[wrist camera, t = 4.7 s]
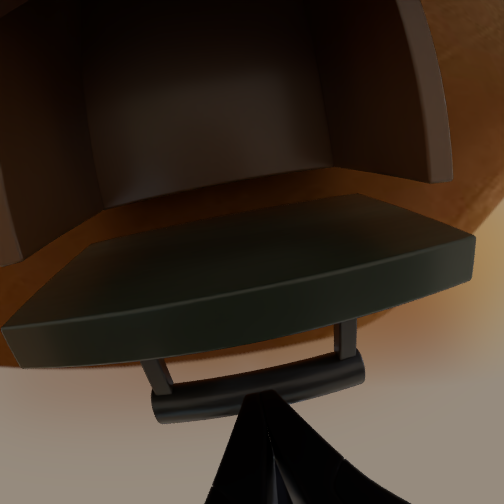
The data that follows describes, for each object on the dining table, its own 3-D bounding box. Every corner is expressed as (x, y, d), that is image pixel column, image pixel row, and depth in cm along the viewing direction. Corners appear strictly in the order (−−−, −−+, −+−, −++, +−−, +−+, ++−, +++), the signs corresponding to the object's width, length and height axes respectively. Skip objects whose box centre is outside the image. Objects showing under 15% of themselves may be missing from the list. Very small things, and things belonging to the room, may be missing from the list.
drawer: (362, 310, 14) (441, 401, 8) (131, 355, 13) (98, 472, 7) (307, -52, 8) (364, -136, 2) (61, -9, 7) (-9, -76, 1)
